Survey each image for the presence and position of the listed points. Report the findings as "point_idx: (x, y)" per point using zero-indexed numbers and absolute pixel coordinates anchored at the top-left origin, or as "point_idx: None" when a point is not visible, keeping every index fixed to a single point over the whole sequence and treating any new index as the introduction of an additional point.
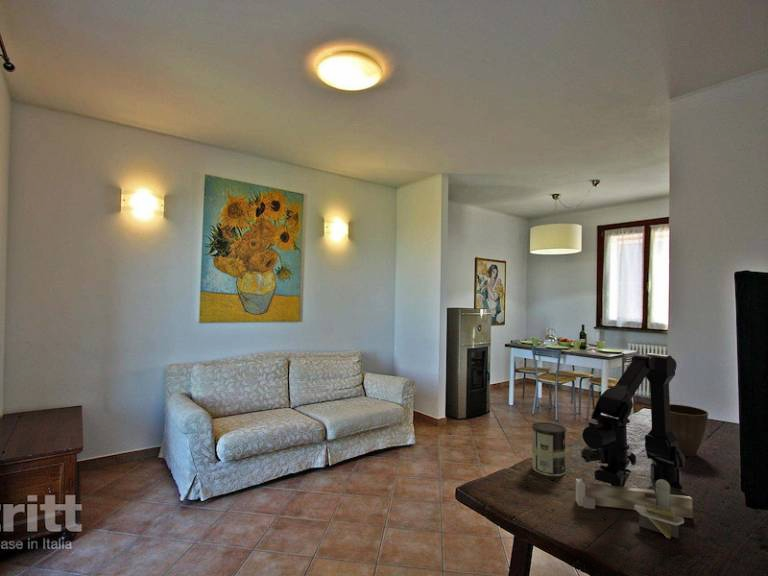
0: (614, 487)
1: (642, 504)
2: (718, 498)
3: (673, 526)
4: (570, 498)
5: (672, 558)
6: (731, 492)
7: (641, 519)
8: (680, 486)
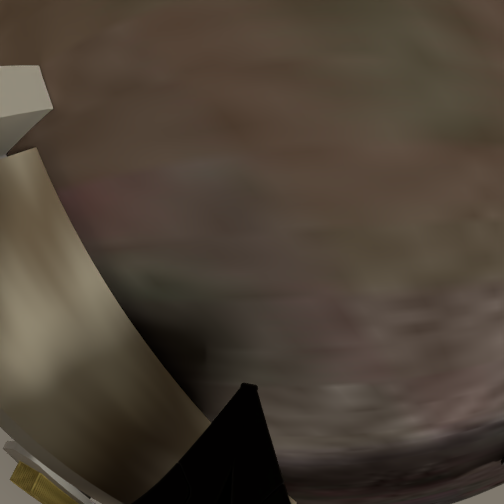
0: (58, 470)
1: None
2: (445, 498)
3: None
4: (50, 20)
5: None
6: (477, 493)
7: None
8: (501, 462)
